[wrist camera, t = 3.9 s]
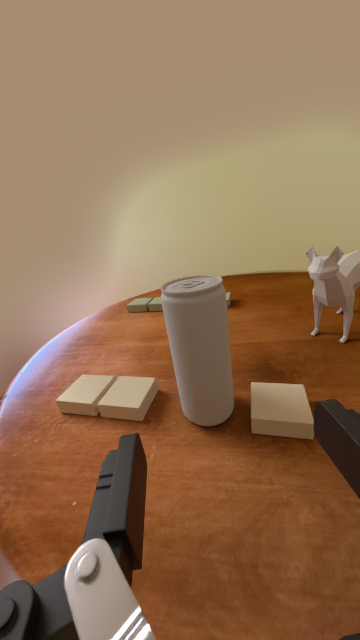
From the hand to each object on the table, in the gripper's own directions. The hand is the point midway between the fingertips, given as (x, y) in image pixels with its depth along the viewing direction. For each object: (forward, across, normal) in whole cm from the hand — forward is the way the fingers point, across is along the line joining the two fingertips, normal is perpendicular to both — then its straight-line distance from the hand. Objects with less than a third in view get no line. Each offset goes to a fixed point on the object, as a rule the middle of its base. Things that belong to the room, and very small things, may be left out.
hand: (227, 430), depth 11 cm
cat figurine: (+21, -21, +8) cm, 30 cm away
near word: (+10, +4, +7) cm, 13 cm away
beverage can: (+9, 0, +8) cm, 12 cm away
